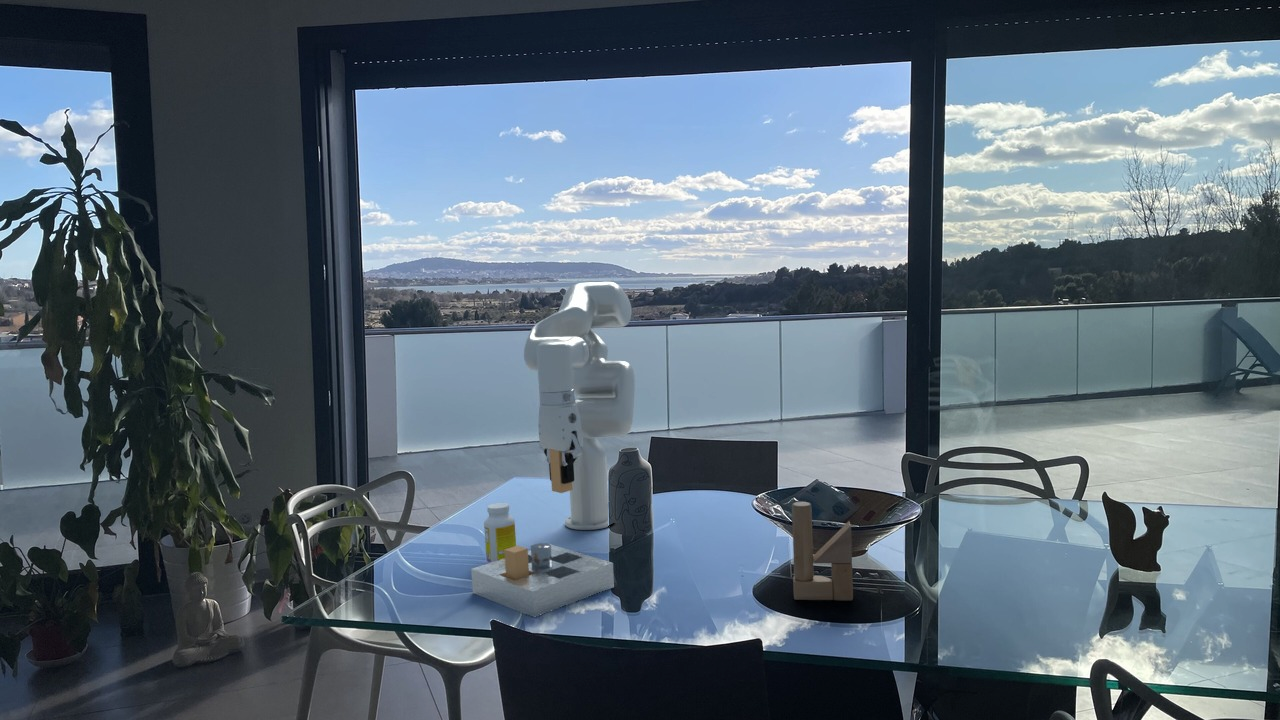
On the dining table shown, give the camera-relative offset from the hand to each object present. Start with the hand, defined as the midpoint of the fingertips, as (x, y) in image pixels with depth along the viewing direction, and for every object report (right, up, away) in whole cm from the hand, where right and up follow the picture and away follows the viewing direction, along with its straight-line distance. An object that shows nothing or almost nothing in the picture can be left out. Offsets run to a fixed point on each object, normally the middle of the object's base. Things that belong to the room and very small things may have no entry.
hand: (562, 480), depth 196 cm
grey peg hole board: (-2, -20, -17) cm, 26 cm away
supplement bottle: (-13, -19, +2) cm, 23 cm away
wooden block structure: (+51, -18, -28) cm, 61 cm away
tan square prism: (0, -2, 0) cm, 2 cm away
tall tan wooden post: (-7, -20, -21) cm, 30 cm away
